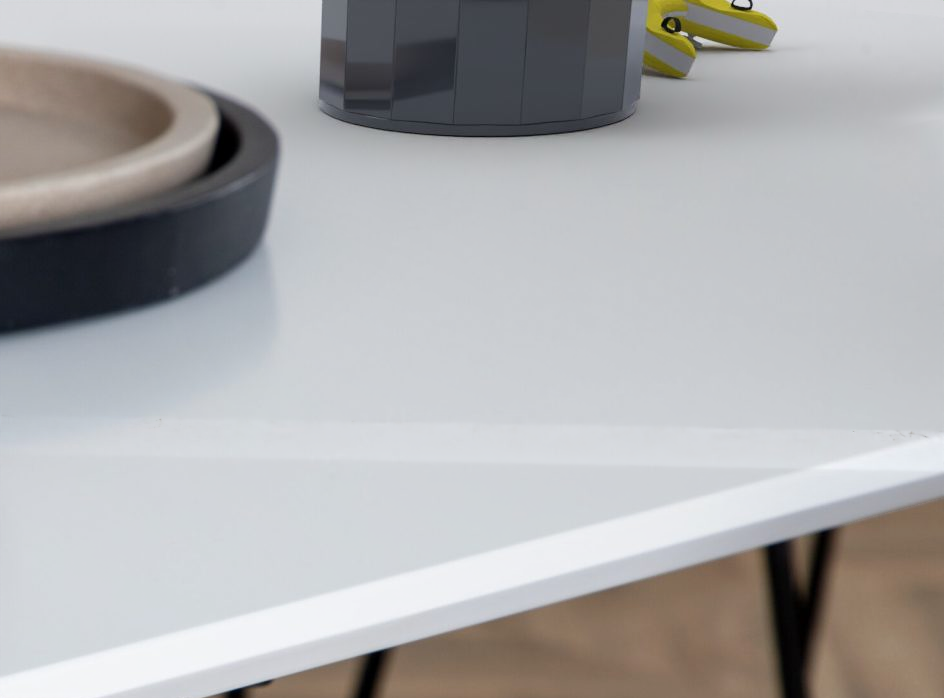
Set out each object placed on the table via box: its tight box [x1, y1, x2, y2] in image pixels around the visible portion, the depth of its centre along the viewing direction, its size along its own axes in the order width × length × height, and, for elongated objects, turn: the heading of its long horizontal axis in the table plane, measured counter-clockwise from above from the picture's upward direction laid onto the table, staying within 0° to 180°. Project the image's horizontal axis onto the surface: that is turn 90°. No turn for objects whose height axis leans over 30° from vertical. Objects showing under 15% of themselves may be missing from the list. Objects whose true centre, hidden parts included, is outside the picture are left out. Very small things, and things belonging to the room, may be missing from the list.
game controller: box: [643, 0, 778, 78], centre depth 116 cm, size 10×6×4 cm, turn 139°
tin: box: [318, 0, 649, 137], centre depth 105 cm, size 15×15×8 cm
